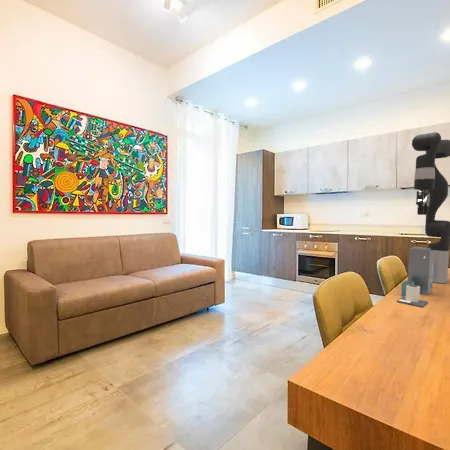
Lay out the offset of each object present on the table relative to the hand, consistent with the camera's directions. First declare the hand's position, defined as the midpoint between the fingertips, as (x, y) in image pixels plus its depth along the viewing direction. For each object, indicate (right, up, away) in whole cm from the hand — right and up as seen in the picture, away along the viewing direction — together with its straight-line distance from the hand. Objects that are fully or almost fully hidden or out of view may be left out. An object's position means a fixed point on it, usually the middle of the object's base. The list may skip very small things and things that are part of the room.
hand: (422, 214), depth 130 cm
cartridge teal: (-8, -36, -2) cm, 37 cm away
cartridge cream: (-12, -36, -12) cm, 40 cm away
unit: (+1, -36, +4) cm, 36 cm away
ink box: (+9, -36, +15) cm, 40 cm away
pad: (-12, -36, -12) cm, 40 cm away
